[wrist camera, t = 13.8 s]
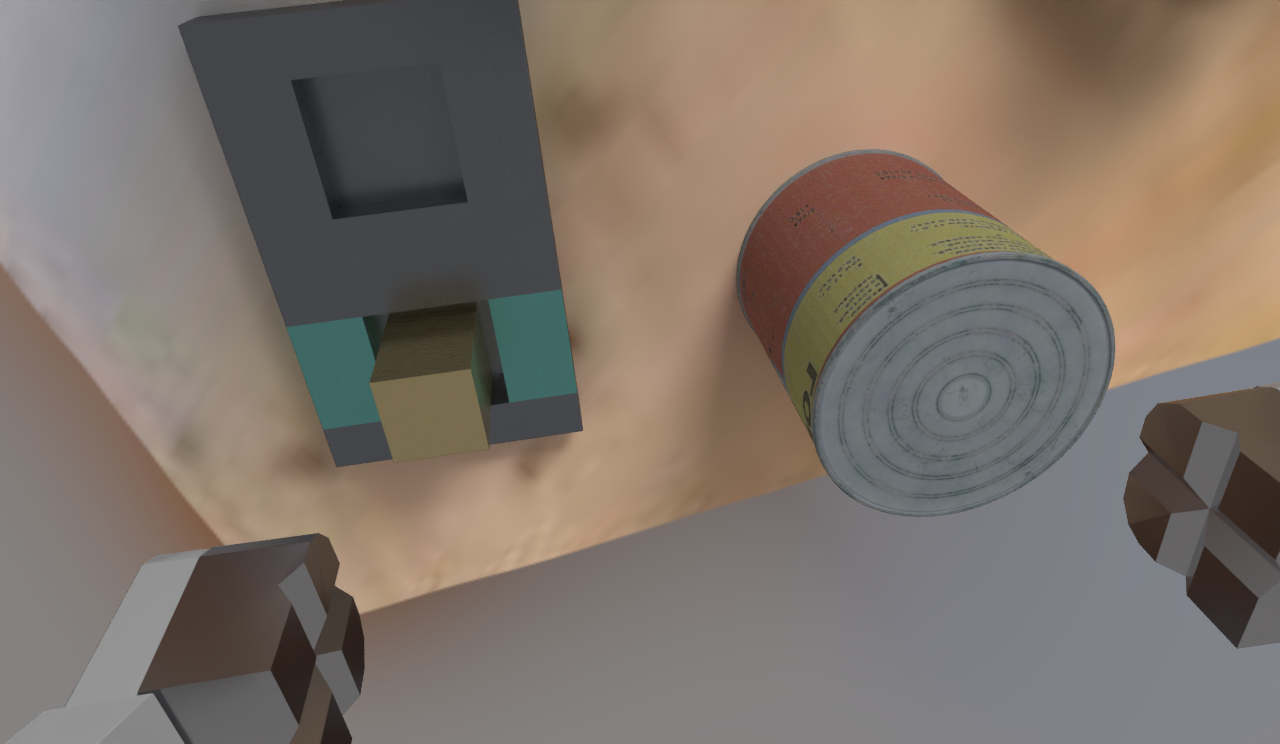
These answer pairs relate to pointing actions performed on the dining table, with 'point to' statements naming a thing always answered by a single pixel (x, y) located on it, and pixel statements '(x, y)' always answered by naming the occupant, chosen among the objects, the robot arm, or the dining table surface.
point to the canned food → (920, 335)
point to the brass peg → (433, 383)
